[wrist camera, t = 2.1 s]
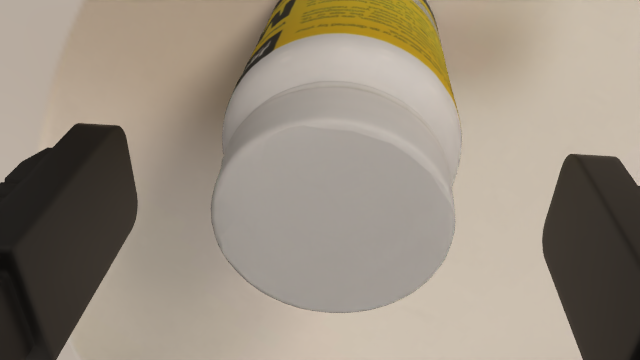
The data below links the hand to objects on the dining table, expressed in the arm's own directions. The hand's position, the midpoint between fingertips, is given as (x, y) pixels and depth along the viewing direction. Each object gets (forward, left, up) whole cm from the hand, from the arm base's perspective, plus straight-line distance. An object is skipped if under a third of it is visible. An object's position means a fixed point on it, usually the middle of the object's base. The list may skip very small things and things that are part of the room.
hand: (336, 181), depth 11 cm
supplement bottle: (0, 0, -7) cm, 7 cm away
